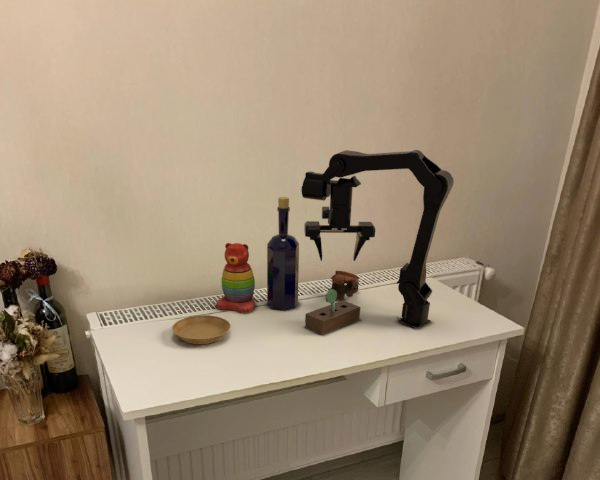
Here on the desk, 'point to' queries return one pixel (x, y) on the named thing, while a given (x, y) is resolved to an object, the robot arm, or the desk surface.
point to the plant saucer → (201, 329)
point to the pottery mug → (345, 278)
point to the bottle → (282, 264)
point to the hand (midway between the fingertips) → (337, 260)
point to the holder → (332, 317)
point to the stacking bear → (237, 280)
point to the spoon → (331, 298)
